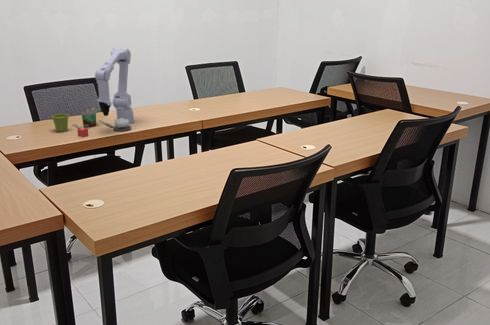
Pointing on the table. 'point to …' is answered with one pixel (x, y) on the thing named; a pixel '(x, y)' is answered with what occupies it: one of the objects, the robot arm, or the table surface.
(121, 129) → the dark grey disc
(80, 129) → the red die
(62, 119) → the plant pot
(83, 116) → the food container
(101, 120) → the game lane
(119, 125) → the dome
